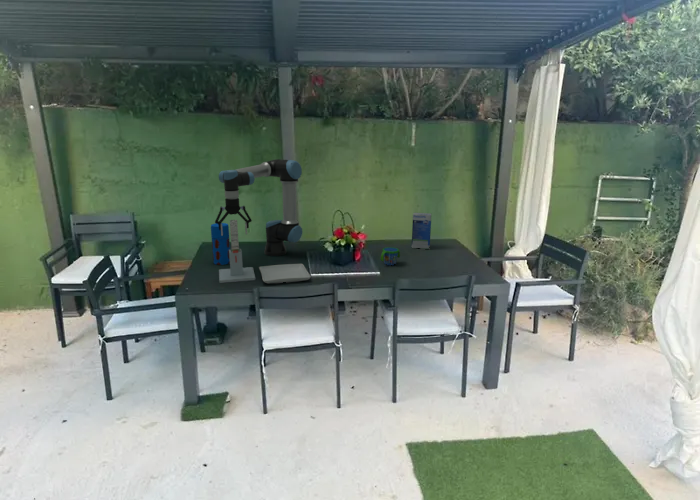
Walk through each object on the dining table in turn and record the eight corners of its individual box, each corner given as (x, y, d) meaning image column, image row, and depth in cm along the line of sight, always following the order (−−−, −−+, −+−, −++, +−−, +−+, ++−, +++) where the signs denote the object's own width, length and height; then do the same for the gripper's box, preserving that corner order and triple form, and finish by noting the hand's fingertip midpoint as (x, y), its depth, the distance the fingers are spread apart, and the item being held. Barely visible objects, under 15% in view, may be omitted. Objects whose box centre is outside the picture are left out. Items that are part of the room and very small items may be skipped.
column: (239, 262, 262) (237, 219, 255) (239, 264, 258) (237, 221, 251) (232, 263, 261) (229, 220, 254) (232, 265, 257) (229, 221, 250)
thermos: (225, 265, 280) (223, 227, 273) (210, 264, 282) (207, 226, 275) (233, 260, 290) (231, 223, 283) (218, 259, 292) (215, 222, 285)
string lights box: (429, 247, 328) (432, 213, 320) (429, 250, 320) (431, 215, 313) (411, 246, 330) (413, 212, 323) (410, 248, 323) (412, 214, 316)
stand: (252, 269, 273) (251, 243, 269) (255, 280, 255) (254, 252, 250) (219, 271, 268) (217, 246, 263) (219, 282, 249) (217, 255, 245)
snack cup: (394, 260, 295) (395, 245, 293) (404, 264, 287) (405, 249, 284) (375, 264, 287) (376, 248, 284) (385, 268, 279) (386, 252, 276)
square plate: (311, 282, 253) (311, 276, 252) (263, 287, 245) (263, 280, 244) (302, 268, 278) (302, 262, 277) (258, 271, 270) (258, 265, 269)
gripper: (254, 196, 255) (255, 231, 261) (209, 197, 249) (211, 234, 254) (255, 198, 249) (256, 234, 254) (208, 199, 242) (211, 237, 248)
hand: (234, 234), depth 254 cm, fingers open, 13 cm apart
